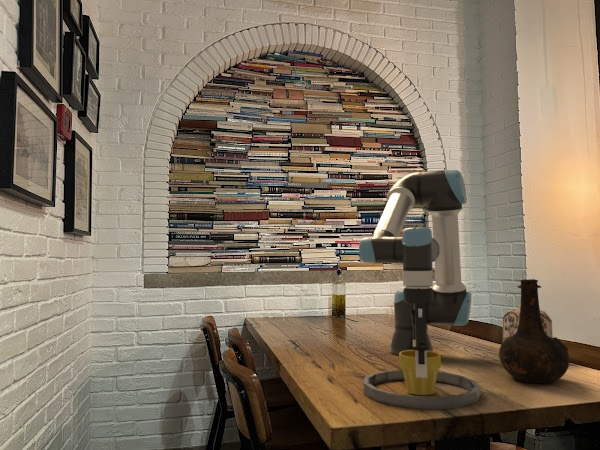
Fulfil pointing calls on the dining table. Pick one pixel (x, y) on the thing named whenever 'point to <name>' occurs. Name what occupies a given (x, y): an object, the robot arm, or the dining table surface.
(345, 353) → the dining table surface
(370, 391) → the centring collar
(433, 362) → the plant pot
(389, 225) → the robot arm
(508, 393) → the dining table surface
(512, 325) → the decorative jar
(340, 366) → the dining table surface
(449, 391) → the dining table surface
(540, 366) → the glass bottle
